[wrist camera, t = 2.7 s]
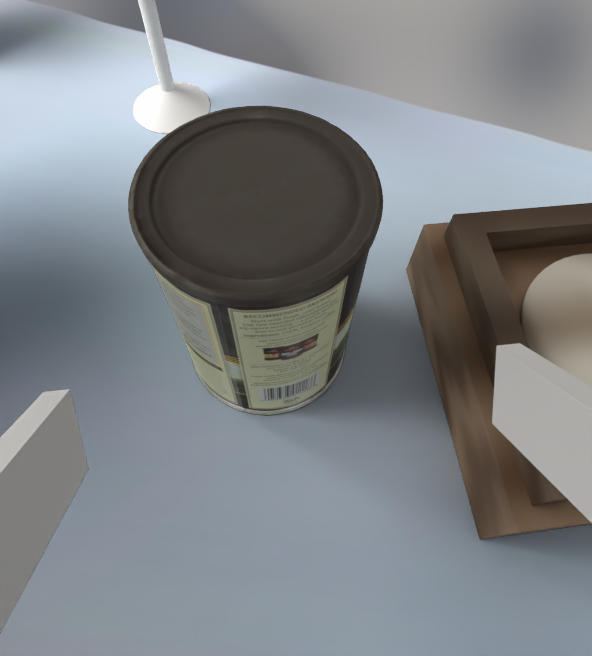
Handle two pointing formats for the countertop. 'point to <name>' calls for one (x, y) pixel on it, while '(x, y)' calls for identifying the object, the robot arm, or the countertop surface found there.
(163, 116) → the champagne flute
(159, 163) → the coffee can
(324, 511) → the countertop surface
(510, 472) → the display stand
